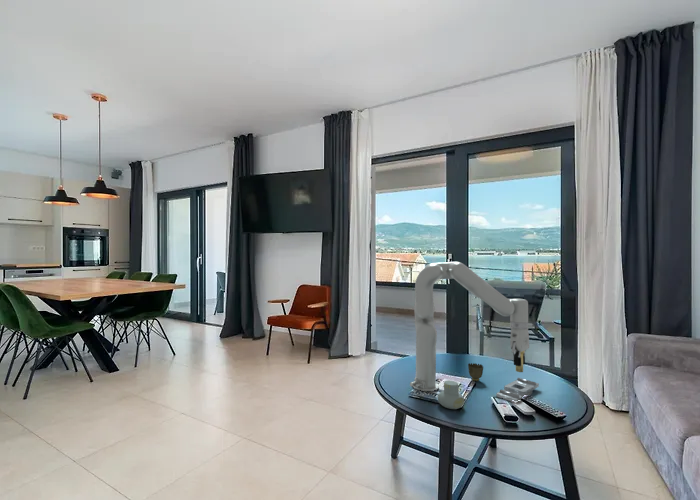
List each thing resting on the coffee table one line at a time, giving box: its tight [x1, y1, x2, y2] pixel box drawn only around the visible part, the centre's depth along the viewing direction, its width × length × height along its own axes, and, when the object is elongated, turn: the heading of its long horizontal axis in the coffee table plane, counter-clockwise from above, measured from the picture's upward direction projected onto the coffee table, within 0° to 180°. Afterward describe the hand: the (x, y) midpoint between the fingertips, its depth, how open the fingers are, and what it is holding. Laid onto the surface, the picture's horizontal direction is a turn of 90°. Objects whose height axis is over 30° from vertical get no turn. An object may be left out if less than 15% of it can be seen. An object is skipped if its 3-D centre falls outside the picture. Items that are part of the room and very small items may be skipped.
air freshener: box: [437, 380, 465, 410], centre depth 149 cm, size 11×8×10 cm
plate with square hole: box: [495, 377, 540, 402], centre depth 164 cm, size 24×9×4 cm, turn 131°
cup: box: [467, 362, 484, 382], centre depth 179 cm, size 8×7×8 cm
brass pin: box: [515, 349, 526, 373], centre depth 164 cm, size 4×4×10 cm
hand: (519, 364), depth 164 cm, fingers closed on brass pin, 3 cm apart
